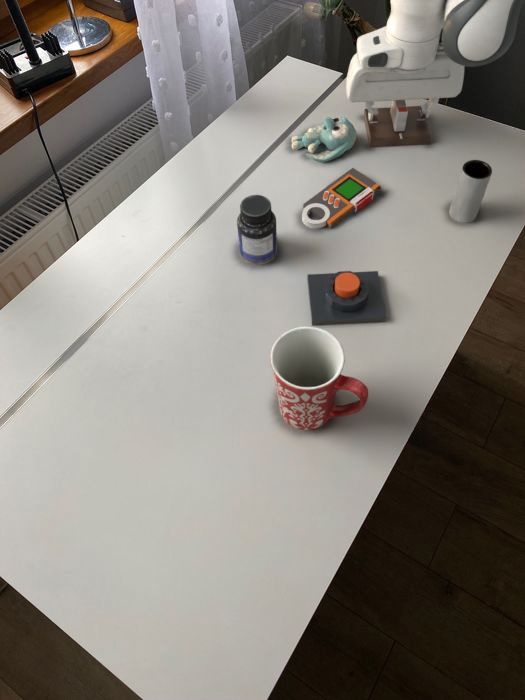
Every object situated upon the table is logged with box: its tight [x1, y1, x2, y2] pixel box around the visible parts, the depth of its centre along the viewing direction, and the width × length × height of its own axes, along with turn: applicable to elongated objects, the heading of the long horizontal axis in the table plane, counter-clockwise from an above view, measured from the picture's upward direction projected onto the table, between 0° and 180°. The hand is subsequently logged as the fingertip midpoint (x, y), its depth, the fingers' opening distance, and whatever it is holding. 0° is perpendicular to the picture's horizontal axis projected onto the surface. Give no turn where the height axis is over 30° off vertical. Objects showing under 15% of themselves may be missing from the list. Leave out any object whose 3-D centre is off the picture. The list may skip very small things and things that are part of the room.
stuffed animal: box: [291, 116, 357, 163], centre depth 111 cm, size 11×7×12 cm
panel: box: [363, 105, 432, 149], centre depth 114 cm, size 11×10×3 cm
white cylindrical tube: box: [448, 159, 493, 224], centre depth 98 cm, size 4×4×10 cm
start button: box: [335, 273, 360, 299], centre depth 89 cm, size 4×4×2 cm
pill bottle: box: [236, 194, 278, 266], centre depth 95 cm, size 6×6×11 cm
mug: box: [269, 326, 369, 431], centre depth 77 cm, size 13×9×14 cm
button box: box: [306, 270, 387, 327], centre depth 91 cm, size 11×9×4 cm
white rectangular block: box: [390, 100, 408, 132], centre depth 111 cm, size 6×2×4 cm, turn 1°
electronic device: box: [301, 167, 382, 230], centre depth 104 cm, size 7×3×15 cm
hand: (398, 117), depth 112 cm, fingers open, 8 cm apart
